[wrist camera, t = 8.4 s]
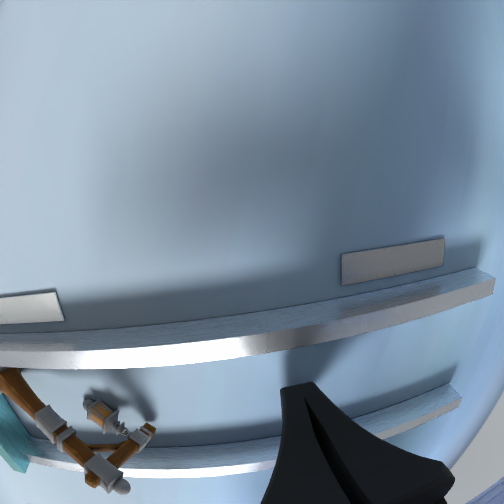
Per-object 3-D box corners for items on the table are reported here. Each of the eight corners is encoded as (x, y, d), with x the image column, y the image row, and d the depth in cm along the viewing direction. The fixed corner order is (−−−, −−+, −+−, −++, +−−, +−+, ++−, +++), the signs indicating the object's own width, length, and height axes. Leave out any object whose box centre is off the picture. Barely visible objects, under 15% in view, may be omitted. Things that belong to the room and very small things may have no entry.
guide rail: (445, 392, 14) (466, 416, 12) (26, 442, 12) (13, 470, 10) (478, 232, 11) (516, 246, 9) (-50, 302, 9) (-78, 324, 7)
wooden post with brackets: (167, 451, 12) (116, 511, 8) (49, 362, 13) (-10, 393, 9) (175, 430, 11) (119, 496, 7) (50, 337, 13) (-15, 366, 9)
